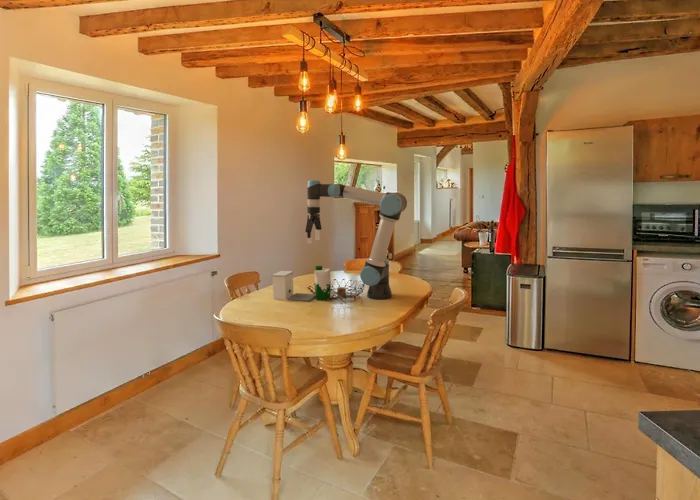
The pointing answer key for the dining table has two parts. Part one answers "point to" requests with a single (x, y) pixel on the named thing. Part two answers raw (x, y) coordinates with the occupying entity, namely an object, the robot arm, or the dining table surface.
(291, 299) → the pad
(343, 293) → the walnut block
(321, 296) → the soya milk
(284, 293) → the dispenser unit
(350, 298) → the dining table surface
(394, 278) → the dining table surface
